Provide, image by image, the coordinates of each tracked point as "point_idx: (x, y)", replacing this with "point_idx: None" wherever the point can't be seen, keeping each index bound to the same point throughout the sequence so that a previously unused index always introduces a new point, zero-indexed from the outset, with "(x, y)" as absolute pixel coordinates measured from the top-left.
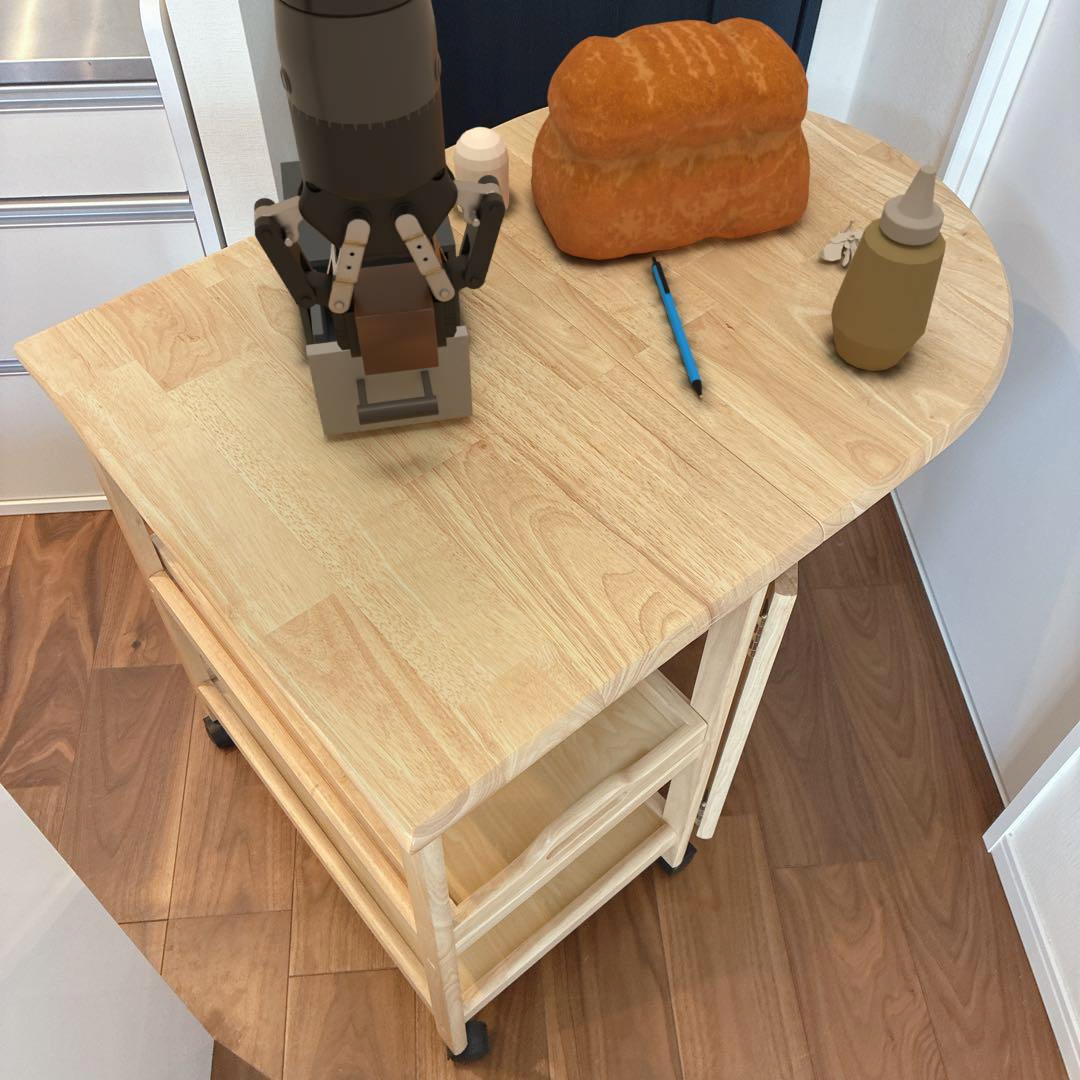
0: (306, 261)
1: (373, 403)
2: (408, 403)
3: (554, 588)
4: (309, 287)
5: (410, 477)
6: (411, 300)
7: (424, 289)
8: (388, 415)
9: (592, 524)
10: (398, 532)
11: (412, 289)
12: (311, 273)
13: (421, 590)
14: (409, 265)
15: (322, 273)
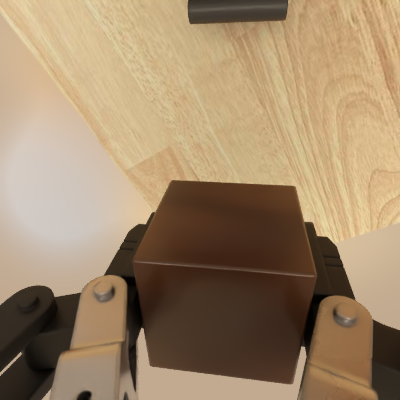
0: (16, 355)
1: (207, 3)
2: (250, 11)
3: (331, 173)
4: (47, 392)
5: (242, 28)
6: (255, 361)
7: (289, 347)
8: (224, 22)
9: (391, 119)
10: (223, 96)
11: (264, 341)
12: (42, 341)
13: (233, 156)
14: (274, 279)
15: (67, 330)
